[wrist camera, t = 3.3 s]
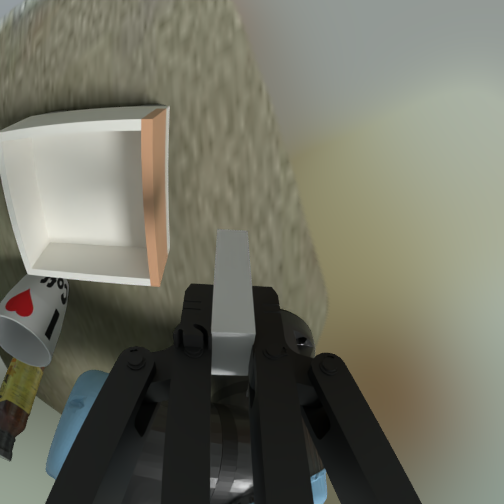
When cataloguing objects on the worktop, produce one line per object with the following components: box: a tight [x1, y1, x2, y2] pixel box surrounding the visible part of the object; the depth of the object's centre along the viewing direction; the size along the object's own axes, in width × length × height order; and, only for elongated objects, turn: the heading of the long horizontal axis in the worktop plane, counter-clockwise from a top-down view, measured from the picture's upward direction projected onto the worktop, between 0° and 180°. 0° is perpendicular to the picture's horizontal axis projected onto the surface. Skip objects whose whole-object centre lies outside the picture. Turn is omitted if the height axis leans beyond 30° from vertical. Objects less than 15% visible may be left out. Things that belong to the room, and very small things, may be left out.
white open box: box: [0, 104, 170, 287], centre depth 22 cm, size 12×12×8 cm
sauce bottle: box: [0, 357, 44, 461], centre depth 33 cm, size 7×6×20 cm
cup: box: [0, 274, 69, 367], centre depth 28 cm, size 8×8×10 cm
